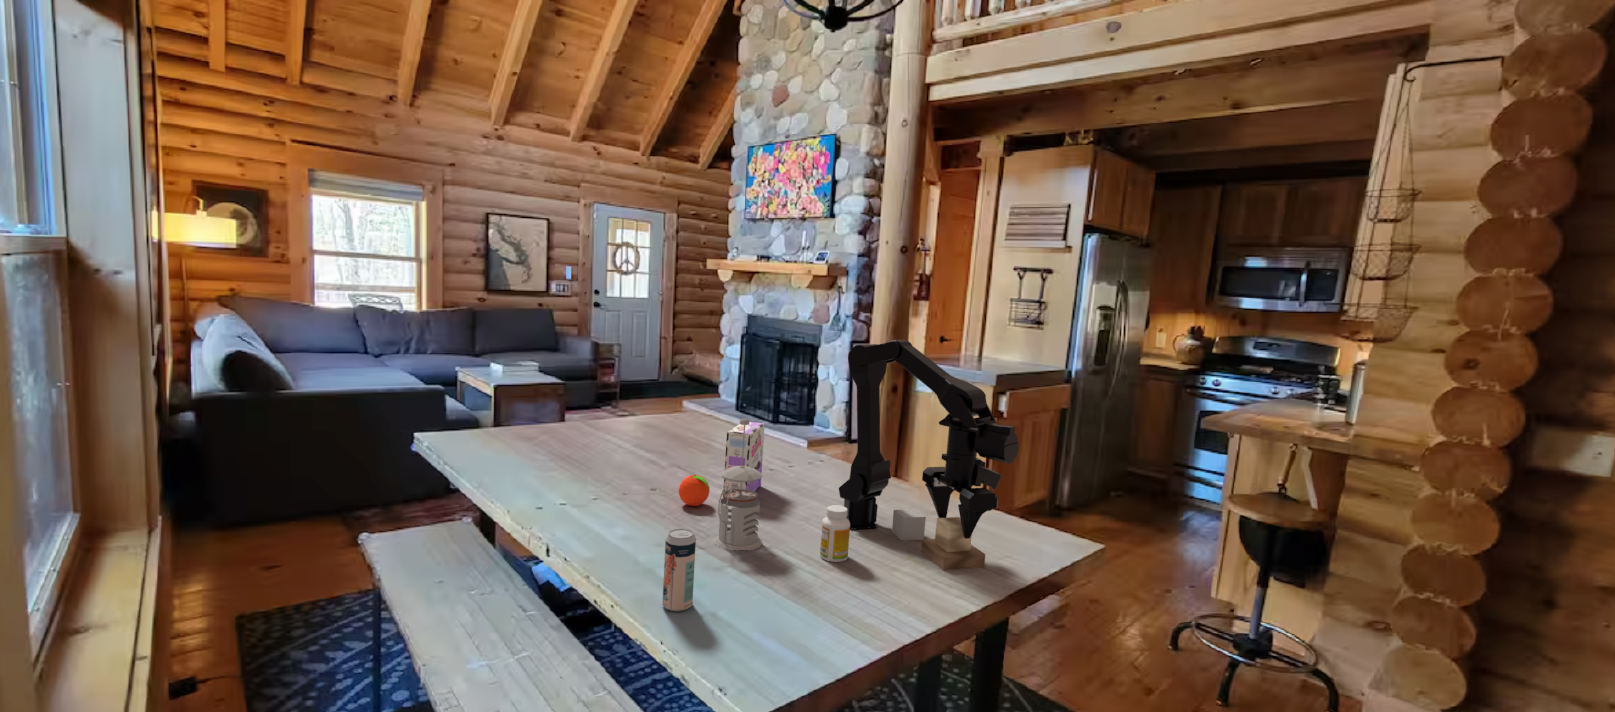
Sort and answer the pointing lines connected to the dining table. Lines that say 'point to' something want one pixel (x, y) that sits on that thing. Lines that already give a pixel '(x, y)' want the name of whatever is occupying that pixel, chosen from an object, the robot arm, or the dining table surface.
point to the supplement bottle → (835, 534)
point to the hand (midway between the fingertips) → (954, 529)
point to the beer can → (679, 570)
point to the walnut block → (952, 556)
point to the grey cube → (908, 524)
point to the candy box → (745, 452)
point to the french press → (739, 509)
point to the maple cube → (951, 535)
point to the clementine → (694, 490)
